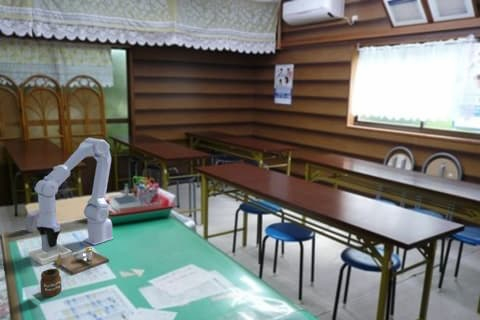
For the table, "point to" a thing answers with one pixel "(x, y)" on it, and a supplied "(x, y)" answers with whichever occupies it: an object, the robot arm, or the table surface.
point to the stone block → (32, 220)
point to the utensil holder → (50, 281)
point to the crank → (85, 256)
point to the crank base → (80, 263)
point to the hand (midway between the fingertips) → (49, 244)
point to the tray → (49, 255)
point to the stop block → (45, 244)
